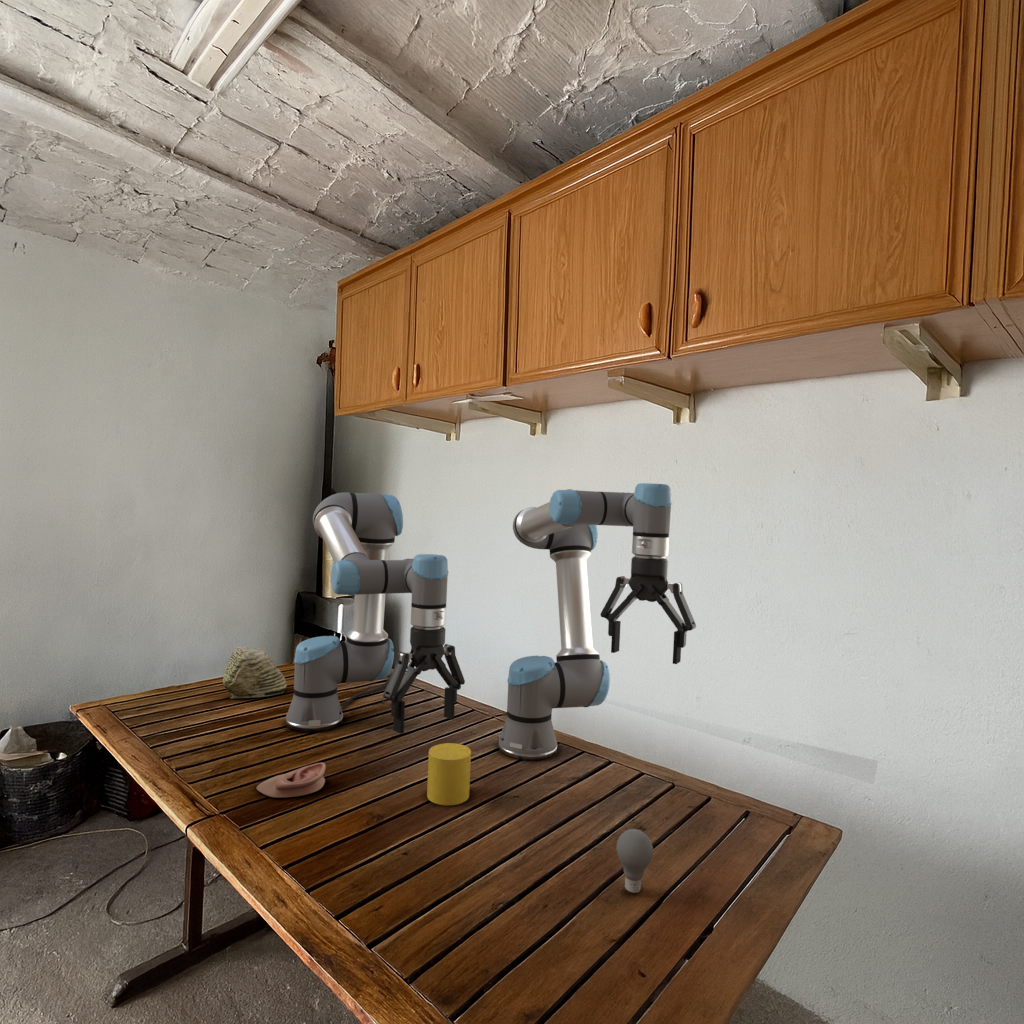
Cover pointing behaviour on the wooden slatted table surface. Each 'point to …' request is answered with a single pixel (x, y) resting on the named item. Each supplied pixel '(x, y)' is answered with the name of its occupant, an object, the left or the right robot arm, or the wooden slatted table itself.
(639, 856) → the light bulb
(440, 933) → the wooden slatted table surface
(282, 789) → the anatomical model
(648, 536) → the right robot arm
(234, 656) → the fossil
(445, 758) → the yellow cylinder
